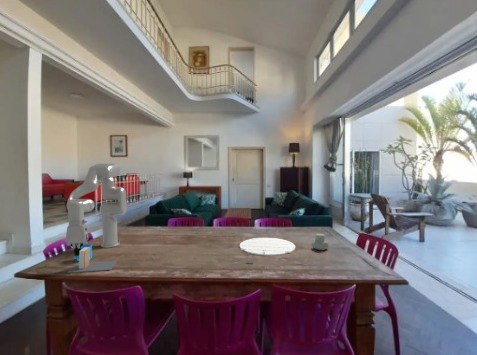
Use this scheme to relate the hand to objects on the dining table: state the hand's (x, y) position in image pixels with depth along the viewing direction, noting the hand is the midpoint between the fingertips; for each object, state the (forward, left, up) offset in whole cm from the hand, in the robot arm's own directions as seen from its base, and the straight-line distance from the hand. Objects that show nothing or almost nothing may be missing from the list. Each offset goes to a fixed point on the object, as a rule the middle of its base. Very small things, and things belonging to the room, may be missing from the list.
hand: (77, 254), depth 154 cm
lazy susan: (-19, +116, -8) cm, 118 cm away
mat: (0, +8, -8) cm, 11 cm away
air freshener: (-7, +150, -8) cm, 150 cm away
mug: (-14, -3, -8) cm, 16 cm away
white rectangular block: (0, +3, -7) cm, 8 cm away
